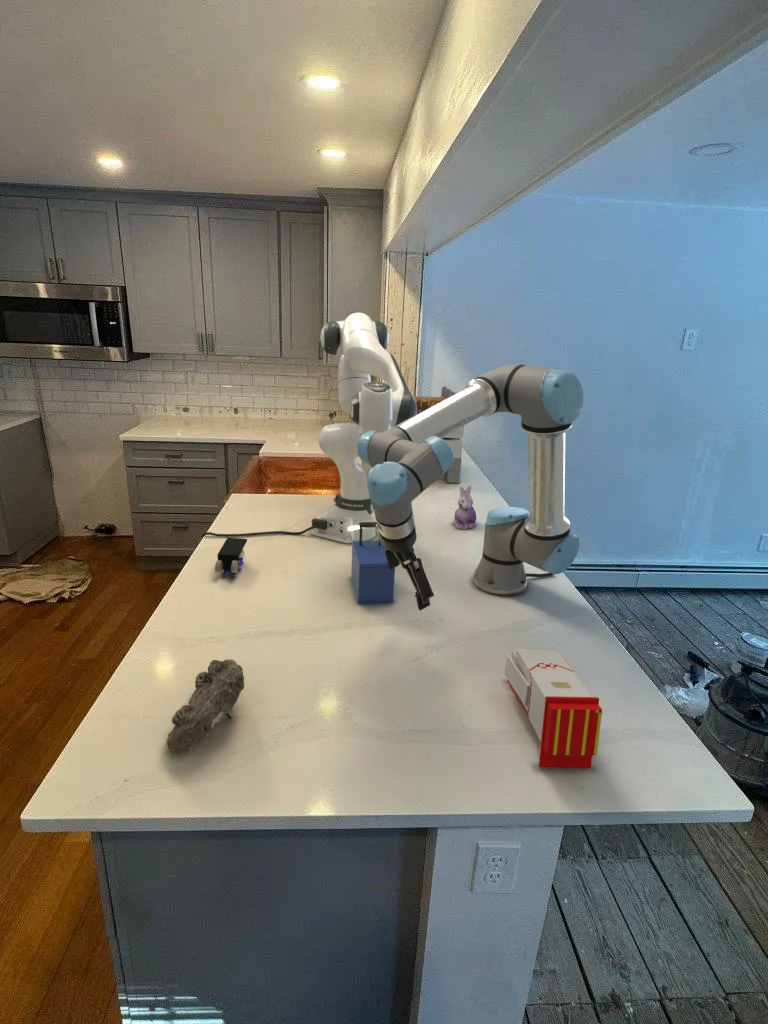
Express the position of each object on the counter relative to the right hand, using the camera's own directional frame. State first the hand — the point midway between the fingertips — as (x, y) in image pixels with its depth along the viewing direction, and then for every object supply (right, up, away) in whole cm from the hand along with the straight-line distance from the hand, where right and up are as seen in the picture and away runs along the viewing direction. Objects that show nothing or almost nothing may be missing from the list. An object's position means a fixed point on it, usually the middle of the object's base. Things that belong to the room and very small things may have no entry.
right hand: (408, 586), depth 131 cm
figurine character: (-51, 0, +36) cm, 62 cm away
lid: (-9, +5, +25) cm, 27 cm away
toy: (+26, -23, -19) cm, 39 cm away
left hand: (-9, +22, +24) cm, 34 cm away
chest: (-9, -5, +28) cm, 30 cm away
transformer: (+12, +36, +144) cm, 149 cm away
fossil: (-38, -22, -23) cm, 50 cm away
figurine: (+24, +12, +79) cm, 84 cm away
